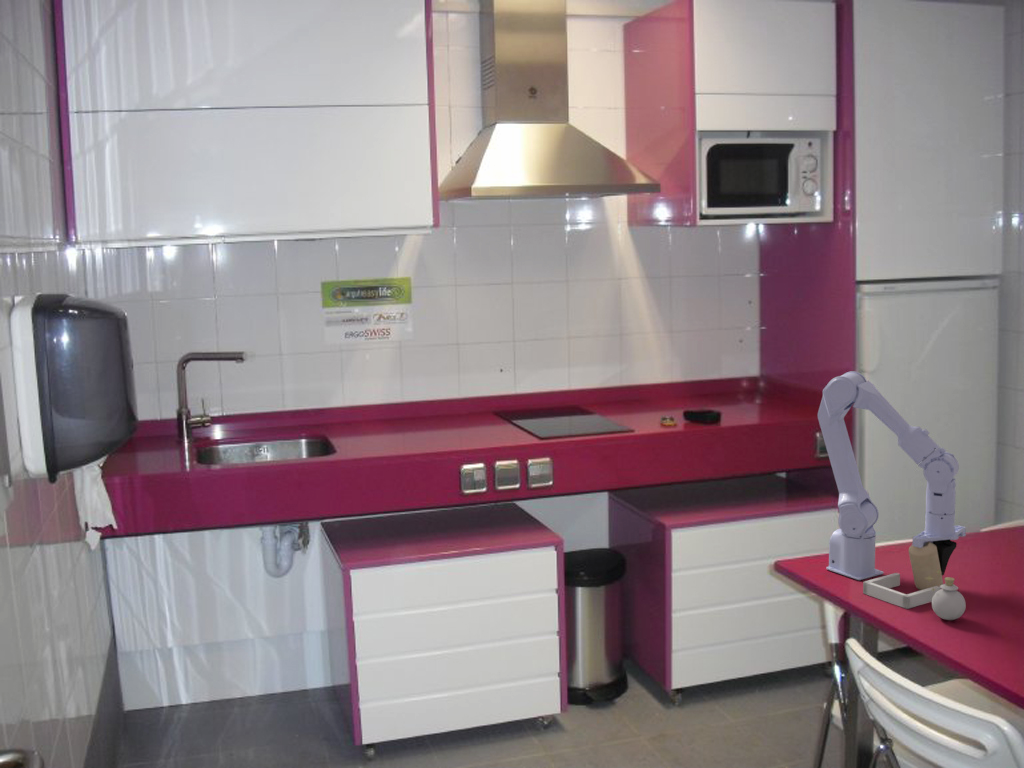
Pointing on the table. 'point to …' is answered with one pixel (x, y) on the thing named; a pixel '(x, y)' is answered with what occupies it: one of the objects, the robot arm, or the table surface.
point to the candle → (925, 566)
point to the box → (882, 592)
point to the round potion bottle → (948, 600)
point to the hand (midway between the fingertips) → (938, 574)
